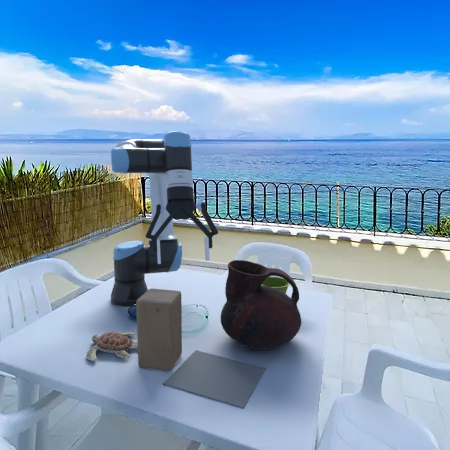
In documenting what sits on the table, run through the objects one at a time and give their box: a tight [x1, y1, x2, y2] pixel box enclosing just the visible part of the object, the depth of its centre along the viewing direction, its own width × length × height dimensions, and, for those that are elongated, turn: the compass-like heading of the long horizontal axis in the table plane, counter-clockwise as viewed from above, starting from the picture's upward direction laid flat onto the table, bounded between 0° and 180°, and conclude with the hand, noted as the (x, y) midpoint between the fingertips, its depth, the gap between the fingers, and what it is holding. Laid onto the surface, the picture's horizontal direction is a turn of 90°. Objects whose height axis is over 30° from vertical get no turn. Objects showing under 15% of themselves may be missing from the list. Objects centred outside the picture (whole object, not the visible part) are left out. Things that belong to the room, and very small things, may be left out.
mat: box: [162, 349, 267, 409], centre depth 98 cm, size 18×22×1 cm
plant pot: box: [261, 276, 290, 295], centre depth 140 cm, size 12×12×11 cm
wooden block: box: [135, 288, 183, 372], centre depth 103 cm, size 10×10×20 cm
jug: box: [220, 259, 302, 350], centre depth 115 cm, size 25×25×25 cm
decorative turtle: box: [85, 331, 138, 362], centre depth 112 cm, size 18×17×5 cm
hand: (183, 262), depth 104 cm, fingers open, 13 cm apart
